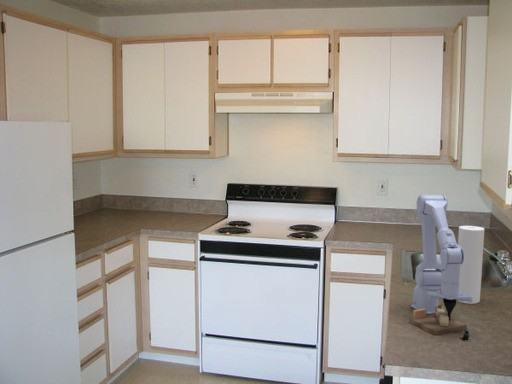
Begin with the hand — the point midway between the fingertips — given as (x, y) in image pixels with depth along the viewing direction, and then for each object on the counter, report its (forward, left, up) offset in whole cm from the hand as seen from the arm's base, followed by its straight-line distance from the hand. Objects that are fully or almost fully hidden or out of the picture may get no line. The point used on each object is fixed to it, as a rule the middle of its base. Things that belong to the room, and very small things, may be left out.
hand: (448, 319), depth 191 cm
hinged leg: (-3, 0, -1) cm, 3 cm away
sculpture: (+10, -2, -4) cm, 11 cm away
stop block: (-9, -5, -1) cm, 10 cm away
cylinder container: (-20, +30, -3) cm, 36 cm away
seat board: (-3, -2, -3) cm, 5 cm away
